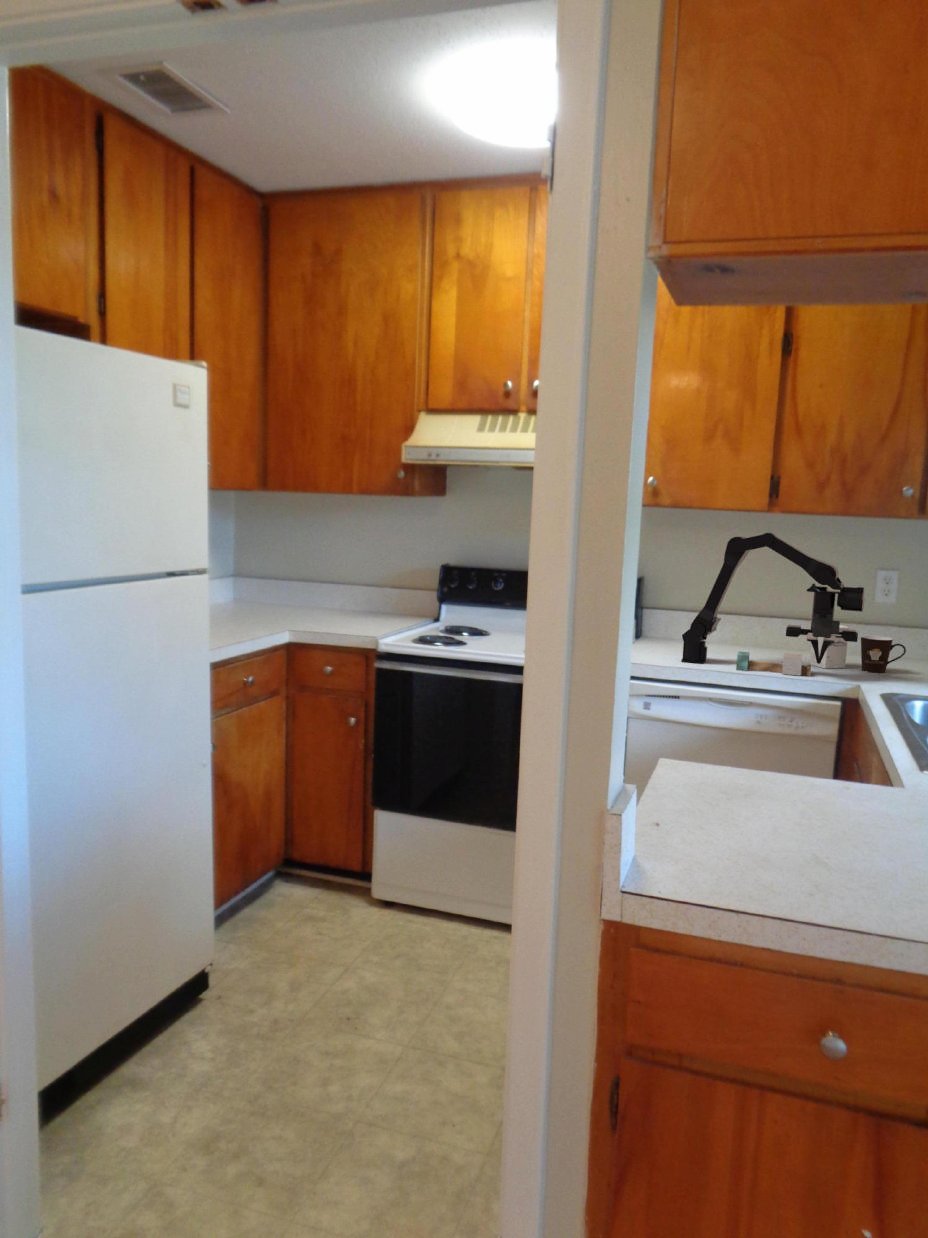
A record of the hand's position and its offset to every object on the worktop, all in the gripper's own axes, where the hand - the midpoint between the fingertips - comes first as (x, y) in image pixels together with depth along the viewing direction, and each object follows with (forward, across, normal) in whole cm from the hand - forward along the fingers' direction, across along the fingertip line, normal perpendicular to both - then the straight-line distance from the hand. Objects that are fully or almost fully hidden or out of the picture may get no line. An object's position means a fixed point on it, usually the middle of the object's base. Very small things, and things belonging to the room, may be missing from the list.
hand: (818, 663), depth 254 cm
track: (+4, -12, 0) cm, 13 cm away
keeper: (+4, -7, 0) cm, 8 cm away
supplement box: (+4, +3, +19) cm, 20 cm away
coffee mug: (+4, +17, +17) cm, 24 cm away
